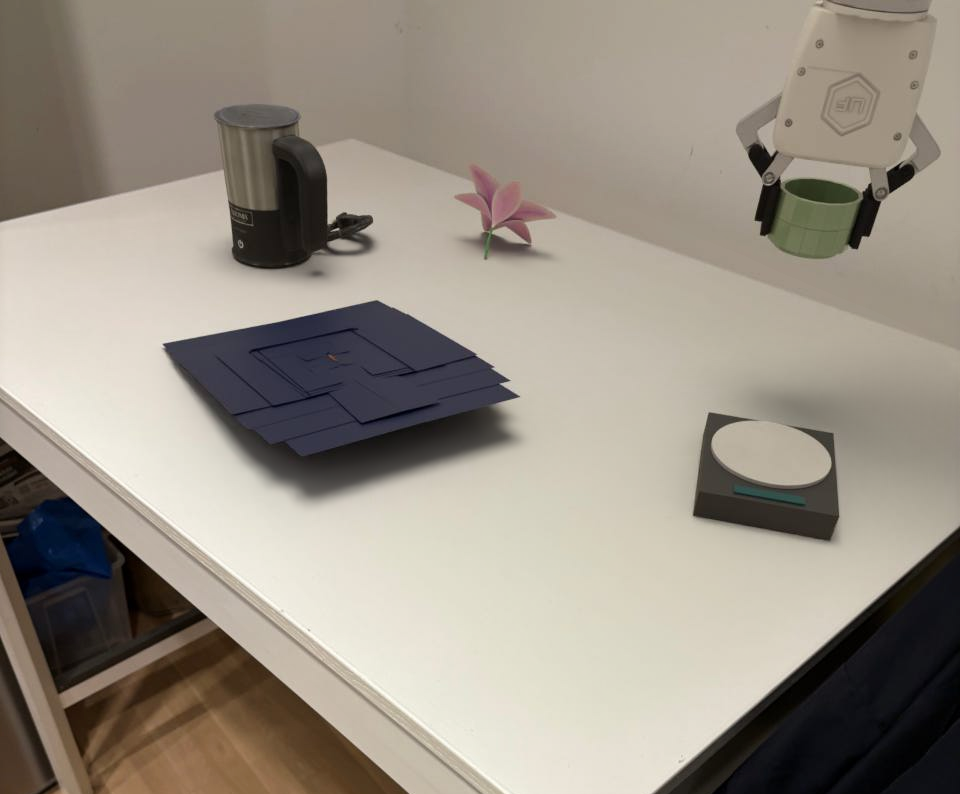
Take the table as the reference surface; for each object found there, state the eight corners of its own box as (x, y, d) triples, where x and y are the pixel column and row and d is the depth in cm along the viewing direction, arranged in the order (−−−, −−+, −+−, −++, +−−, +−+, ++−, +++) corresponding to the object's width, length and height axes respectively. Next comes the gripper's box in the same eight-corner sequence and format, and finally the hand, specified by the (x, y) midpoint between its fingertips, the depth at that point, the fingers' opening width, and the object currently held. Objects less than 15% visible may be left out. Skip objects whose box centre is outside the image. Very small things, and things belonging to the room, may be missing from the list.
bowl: (844, 238, 83) (861, 183, 79) (846, 267, 78) (865, 209, 75) (767, 227, 84) (781, 172, 80) (764, 255, 79) (779, 197, 76)
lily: (559, 272, 113) (574, 187, 110) (487, 249, 105) (502, 157, 103) (494, 271, 121) (507, 192, 119) (423, 249, 113) (435, 164, 111)
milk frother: (215, 258, 108) (195, 116, 97) (286, 216, 118) (275, 84, 108) (323, 284, 104) (314, 139, 94) (386, 238, 115) (385, 104, 105)
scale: (825, 456, 84) (835, 428, 82) (830, 540, 74) (841, 511, 72) (702, 435, 85) (709, 407, 83) (692, 515, 76) (700, 486, 74)
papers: (283, 494, 73) (277, 452, 70) (165, 371, 93) (156, 335, 91) (537, 421, 83) (539, 382, 81) (381, 324, 103) (378, 291, 101)
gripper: (757, -17, 67) (703, 237, 79) (1013, 10, 64) (915, 268, 76) (761, -32, 72) (710, 208, 84) (997, -8, 69) (909, 236, 82)
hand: (808, 235), depth 80 cm, fingers closed on bowl, 6 cm apart
